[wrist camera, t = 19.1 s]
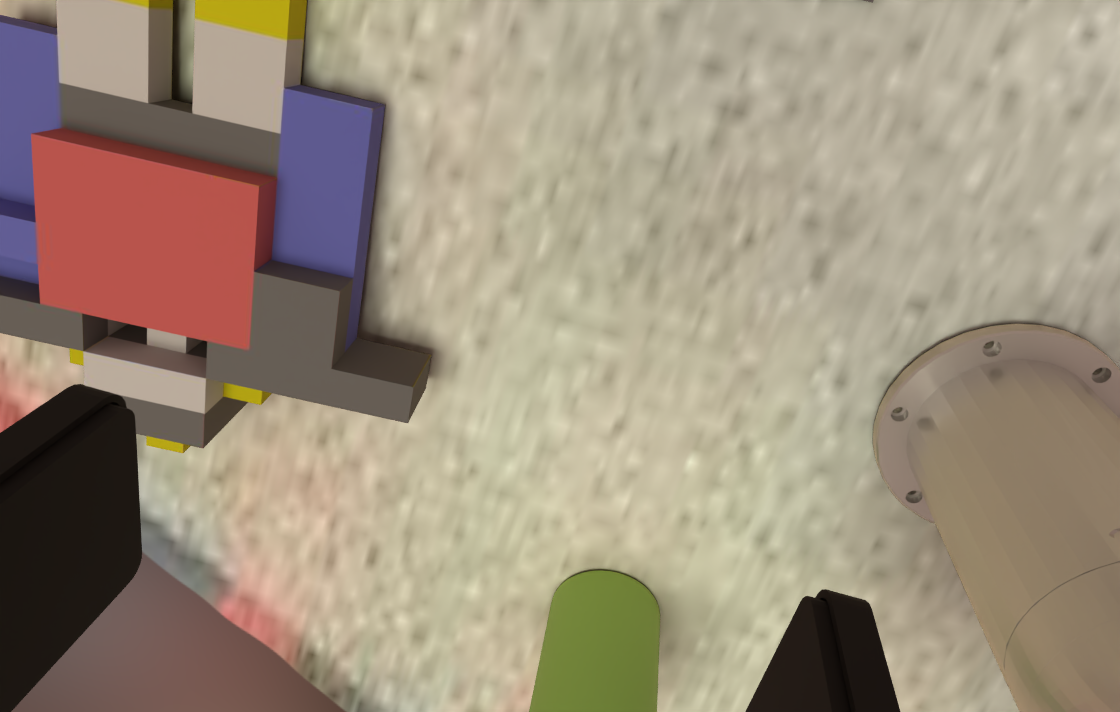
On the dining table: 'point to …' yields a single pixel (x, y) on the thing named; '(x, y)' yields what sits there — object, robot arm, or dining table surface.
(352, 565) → the dining table surface
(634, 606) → the tumbler
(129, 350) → the toy
